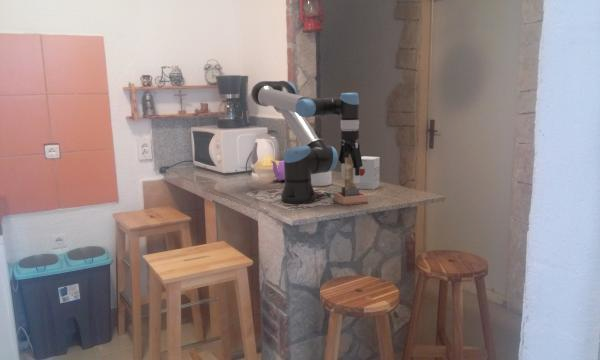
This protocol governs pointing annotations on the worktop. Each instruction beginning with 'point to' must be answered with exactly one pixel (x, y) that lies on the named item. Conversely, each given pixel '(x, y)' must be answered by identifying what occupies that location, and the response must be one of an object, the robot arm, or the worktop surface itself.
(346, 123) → the robot arm
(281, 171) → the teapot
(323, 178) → the can
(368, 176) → the supplement box
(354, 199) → the square copper tray
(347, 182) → the bar
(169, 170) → the worktop surface
